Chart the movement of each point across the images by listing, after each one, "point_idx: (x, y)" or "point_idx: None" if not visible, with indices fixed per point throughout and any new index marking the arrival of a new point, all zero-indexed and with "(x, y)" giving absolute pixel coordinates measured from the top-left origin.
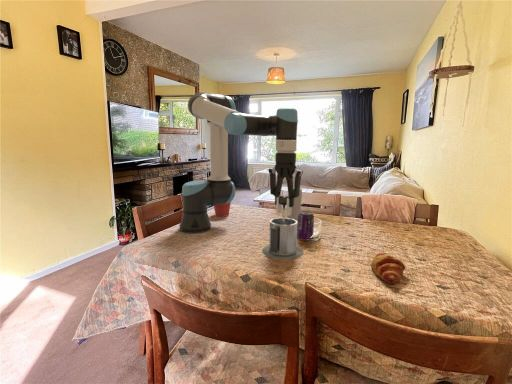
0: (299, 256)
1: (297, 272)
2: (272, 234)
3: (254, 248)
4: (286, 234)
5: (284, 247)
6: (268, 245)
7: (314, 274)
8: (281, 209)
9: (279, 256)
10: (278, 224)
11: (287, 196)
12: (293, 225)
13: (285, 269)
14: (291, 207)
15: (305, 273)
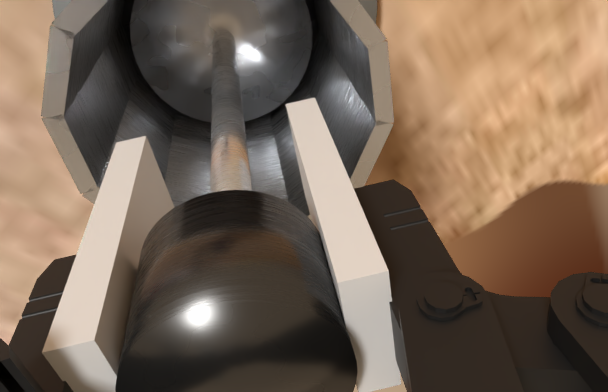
0: (371, 6)
1: (449, 156)
2: None
3: (23, 108)
4: None
5: None
6: (56, 15)
7: (528, 111)
8: (141, 166)
9: None
10: None
11: (279, 335)
12: (387, 127)
13: (385, 175)
14: (337, 154)
15: (486, 135)
